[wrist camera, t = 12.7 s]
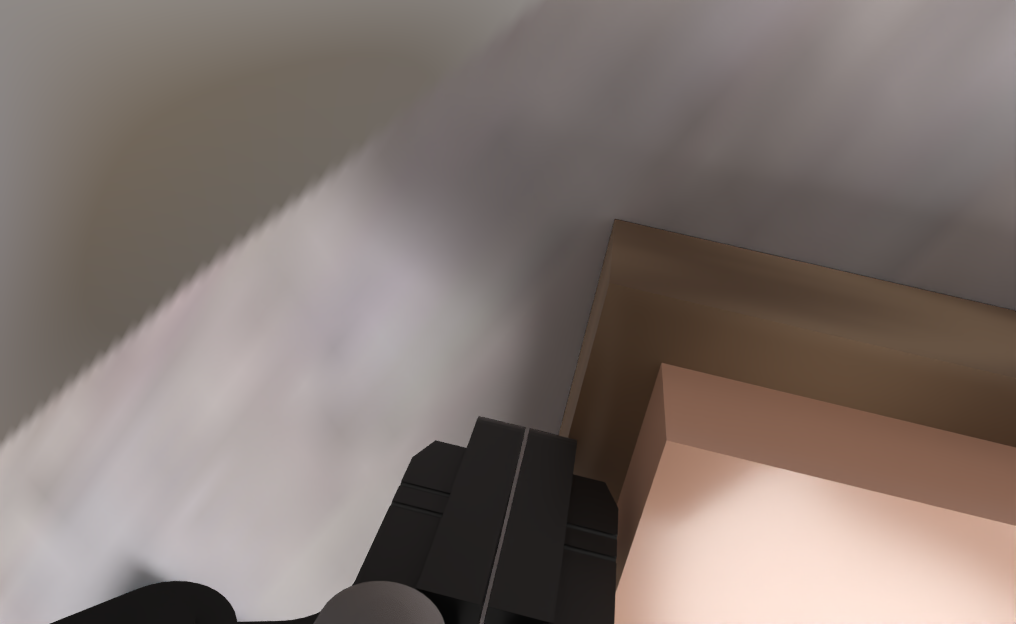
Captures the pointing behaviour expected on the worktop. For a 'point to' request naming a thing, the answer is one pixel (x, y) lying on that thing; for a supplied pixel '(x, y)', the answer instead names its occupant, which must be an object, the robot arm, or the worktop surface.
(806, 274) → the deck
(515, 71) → the worktop surface
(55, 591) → the worktop surface
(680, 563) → the salmon pink block
